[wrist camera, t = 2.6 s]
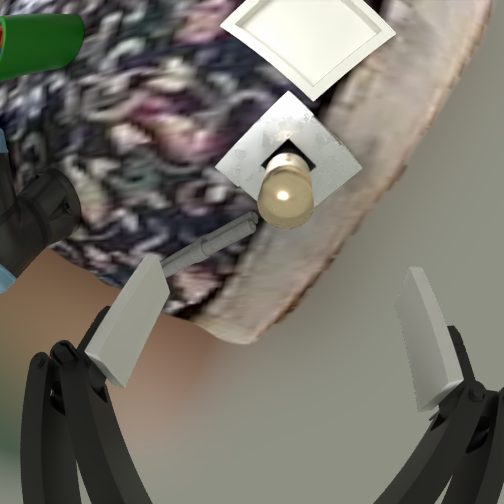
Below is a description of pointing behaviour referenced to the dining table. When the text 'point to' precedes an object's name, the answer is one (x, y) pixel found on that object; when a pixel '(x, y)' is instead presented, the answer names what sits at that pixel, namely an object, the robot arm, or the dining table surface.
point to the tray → (310, 37)
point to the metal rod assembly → (210, 243)
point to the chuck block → (303, 136)
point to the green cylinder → (38, 43)
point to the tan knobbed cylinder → (286, 189)
